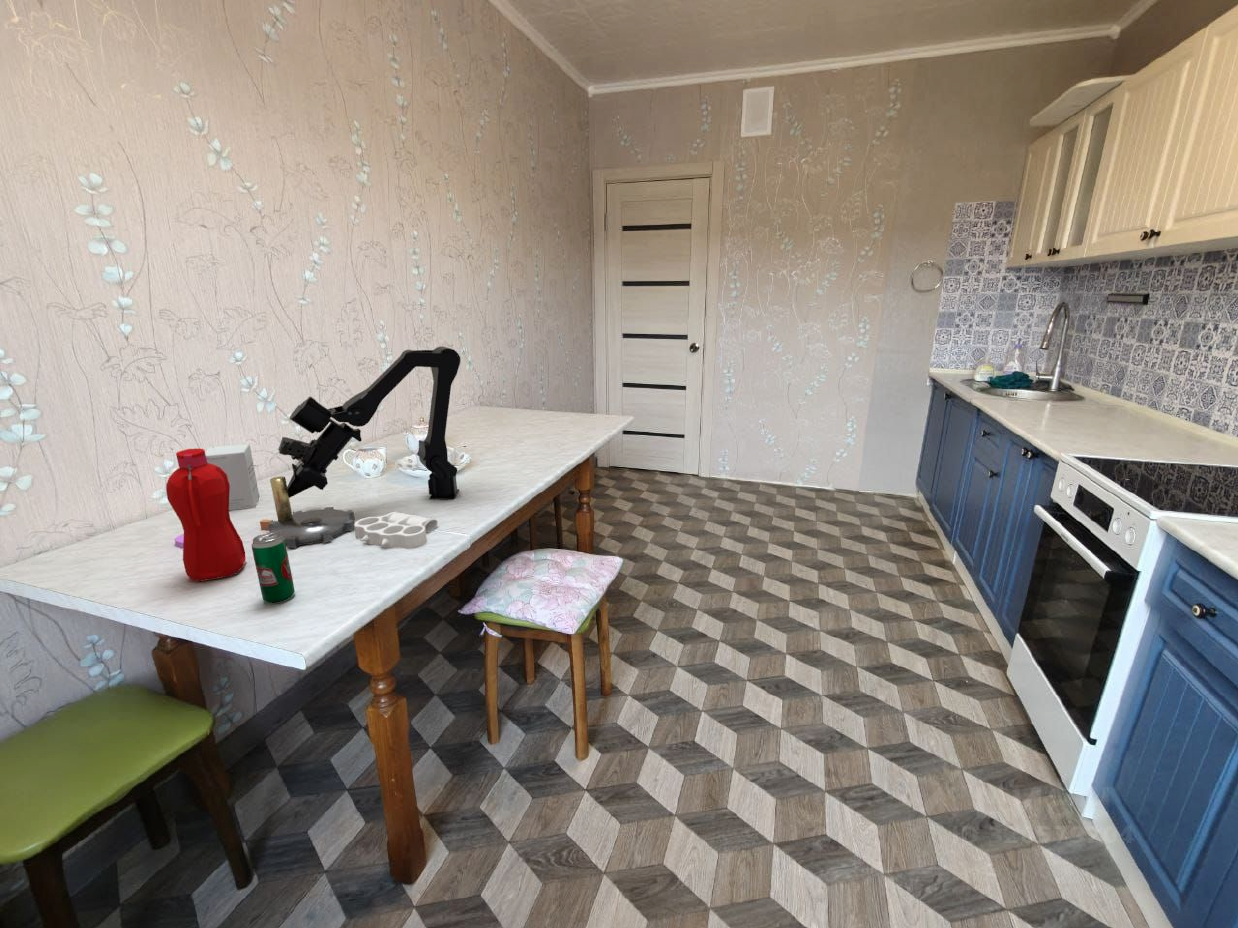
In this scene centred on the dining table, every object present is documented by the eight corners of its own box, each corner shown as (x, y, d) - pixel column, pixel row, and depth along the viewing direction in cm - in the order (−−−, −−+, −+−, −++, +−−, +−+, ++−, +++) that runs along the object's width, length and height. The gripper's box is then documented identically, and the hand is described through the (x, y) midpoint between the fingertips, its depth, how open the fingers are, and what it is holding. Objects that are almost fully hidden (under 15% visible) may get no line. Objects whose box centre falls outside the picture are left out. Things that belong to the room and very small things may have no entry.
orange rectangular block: (274, 527, 133) (272, 520, 132) (270, 529, 132) (269, 522, 131) (265, 527, 133) (263, 519, 132) (261, 529, 132) (259, 521, 131)
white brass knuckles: (449, 530, 132) (404, 557, 119) (388, 519, 139) (340, 543, 126) (447, 517, 131) (402, 542, 118) (387, 506, 138) (338, 529, 125)
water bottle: (181, 591, 105) (147, 462, 98) (196, 565, 115) (166, 446, 107) (239, 581, 109) (211, 456, 101) (249, 557, 118) (224, 441, 111)
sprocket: (337, 508, 143) (330, 463, 140) (370, 529, 131) (363, 480, 128) (254, 530, 130) (244, 481, 127) (282, 555, 118) (271, 501, 115)
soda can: (256, 601, 102) (243, 540, 98) (281, 588, 106) (269, 529, 103) (277, 607, 100) (264, 544, 96) (301, 593, 104) (290, 533, 101)
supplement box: (213, 513, 142) (200, 455, 137) (220, 501, 149) (208, 446, 145) (255, 507, 145) (244, 451, 141) (260, 496, 153) (249, 442, 148)
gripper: (294, 417, 138) (250, 468, 135) (301, 433, 123) (252, 490, 120) (335, 443, 144) (294, 492, 142) (346, 461, 129) (300, 517, 127)
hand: (284, 497), depth 132 cm, fingers closed
